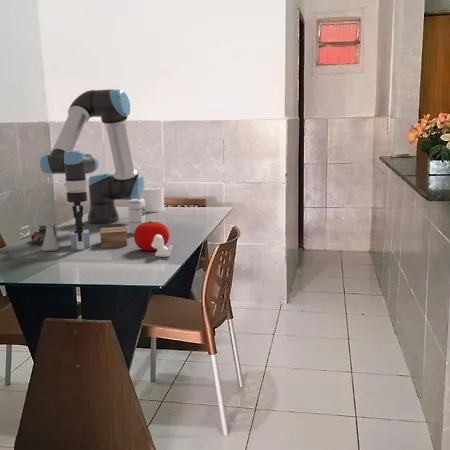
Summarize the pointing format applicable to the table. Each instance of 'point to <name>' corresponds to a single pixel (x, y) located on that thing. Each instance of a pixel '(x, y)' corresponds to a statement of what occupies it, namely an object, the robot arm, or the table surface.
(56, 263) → the table surface
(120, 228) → the base block
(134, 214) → the syrup box
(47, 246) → the flask
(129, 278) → the table surface
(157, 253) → the figurine
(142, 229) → the tomato
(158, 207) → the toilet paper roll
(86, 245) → the blue brick
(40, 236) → the toy
